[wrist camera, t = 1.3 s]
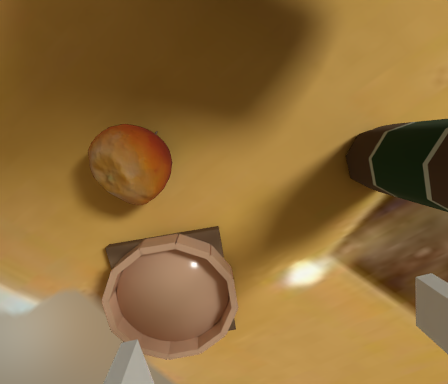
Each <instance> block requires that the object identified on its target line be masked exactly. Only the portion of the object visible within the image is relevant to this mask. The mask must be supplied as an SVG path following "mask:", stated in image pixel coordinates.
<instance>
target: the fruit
mask: <svg viewBox="0 0 448 384" xmlns="http://www.w3.org/2000/svg"><path fill="white" fill-rule="evenodd" d="M156 134H157V131H156V132H155V133H153V132H151V131H149V130H147V129H145V128H142V127H139V126H134V125H128V124H121V125H118V126H113V127H108V128H107V129H106V130H104V131H102V132H101V133H100V134H99V135H98V136H96V137H95V139H94V140H93V142H92V143H91V145H90V147H89V149H88V156H89V161H90V169H91V172H92V174H93V176H94V178H95V179H96V180H97V181H98V182H99V183H100V185H101V186H102V187H103V188H104V189H105V190H106V191H108V192H109V193H111V194H113V195H114V196H116V197H118V198H120V199H122V200H124V201H126V202H128V203H130V204H137V205H143V204H146V203H148V202H149V201H150V200H152V199H154V198H155V197H156V196H157V195H158V194H159V193H160V192H161V191H162V190H163V189H164V187H165V185H166V183H167V181H168V179H169V177H170V174H171V167H172V159H171V154H170V151H169V149H168V147H167V145H166V144H165V143H164V141H163V140H161V139H160V137H158V136H157V135H156Z"/></svg>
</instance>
